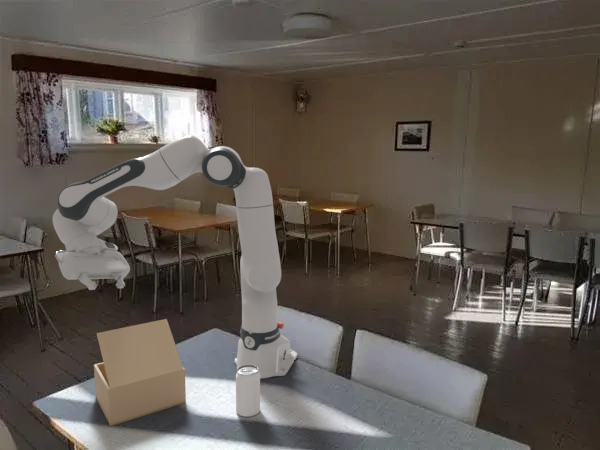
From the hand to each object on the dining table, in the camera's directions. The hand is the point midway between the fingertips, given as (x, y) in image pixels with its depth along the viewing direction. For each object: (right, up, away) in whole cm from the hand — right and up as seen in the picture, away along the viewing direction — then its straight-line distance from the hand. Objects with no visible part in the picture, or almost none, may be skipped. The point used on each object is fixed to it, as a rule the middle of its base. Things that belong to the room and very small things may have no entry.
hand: (108, 287), depth 130 cm
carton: (+8, -32, +1) cm, 33 cm away
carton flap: (+10, -17, -3) cm, 20 cm away
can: (+39, -33, -3) cm, 51 cm away
